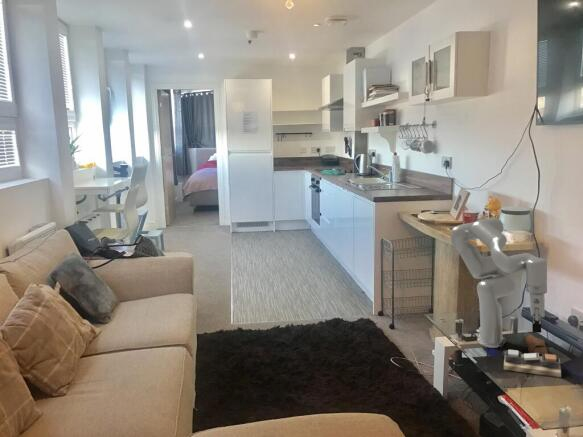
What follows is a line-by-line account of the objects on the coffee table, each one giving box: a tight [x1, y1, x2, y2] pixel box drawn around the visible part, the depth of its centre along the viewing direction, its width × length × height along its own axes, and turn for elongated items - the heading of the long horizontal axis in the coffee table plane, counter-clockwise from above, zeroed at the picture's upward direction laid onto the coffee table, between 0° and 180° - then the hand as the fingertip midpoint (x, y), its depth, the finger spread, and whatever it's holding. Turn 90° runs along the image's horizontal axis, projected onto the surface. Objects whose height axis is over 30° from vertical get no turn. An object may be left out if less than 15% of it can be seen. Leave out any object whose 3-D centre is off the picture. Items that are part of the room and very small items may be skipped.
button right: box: [545, 353, 557, 362], centre depth 190 cm, size 4×4×2 cm
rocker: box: [523, 352, 539, 360], centre depth 194 cm, size 6×4×1 cm
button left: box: [508, 349, 520, 358], centre depth 197 cm, size 4×4×2 cm
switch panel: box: [503, 349, 562, 378], centre depth 194 cm, size 21×12×4 cm, turn 63°
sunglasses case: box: [524, 333, 550, 356], centre depth 208 cm, size 18×7×7 cm
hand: (536, 328), depth 190 cm, fingers open, 5 cm apart
